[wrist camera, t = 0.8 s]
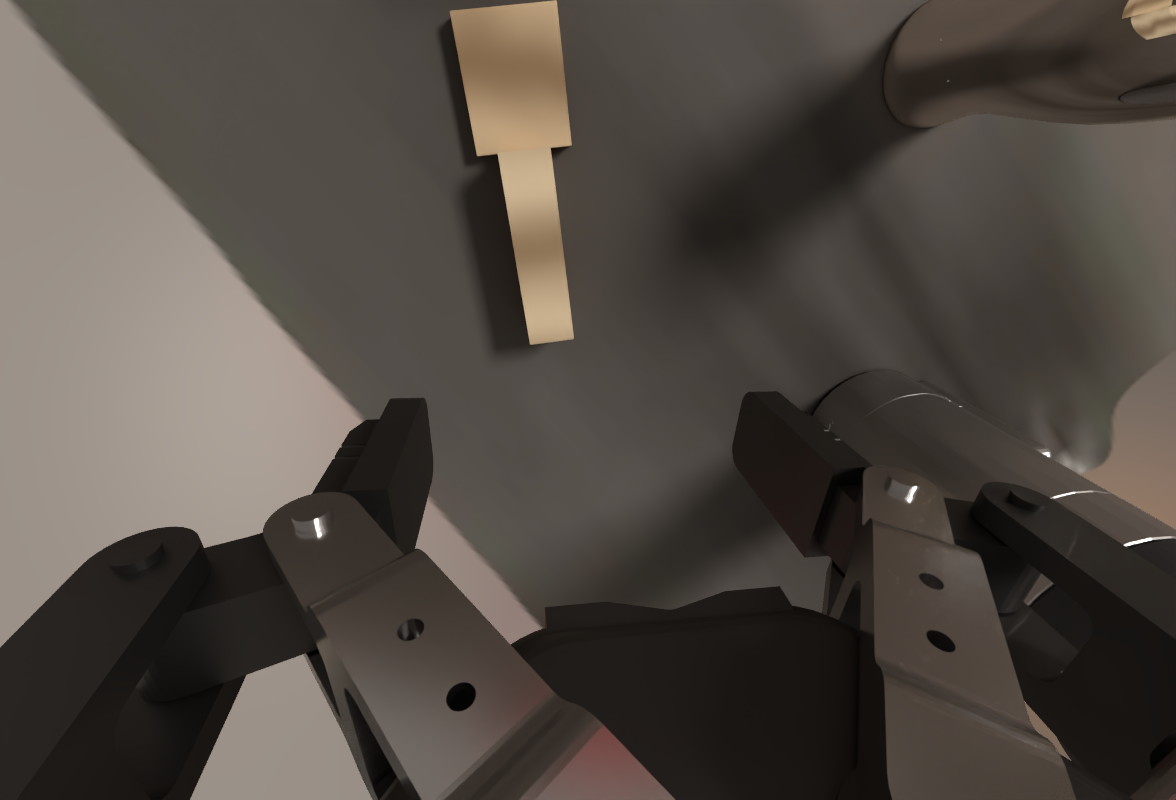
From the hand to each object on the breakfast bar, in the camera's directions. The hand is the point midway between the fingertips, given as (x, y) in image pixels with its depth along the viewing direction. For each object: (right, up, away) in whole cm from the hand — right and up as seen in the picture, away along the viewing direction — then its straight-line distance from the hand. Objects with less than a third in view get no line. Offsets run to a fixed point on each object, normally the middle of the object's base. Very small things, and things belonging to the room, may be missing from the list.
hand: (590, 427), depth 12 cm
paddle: (-3, +13, +15) cm, 19 cm away
